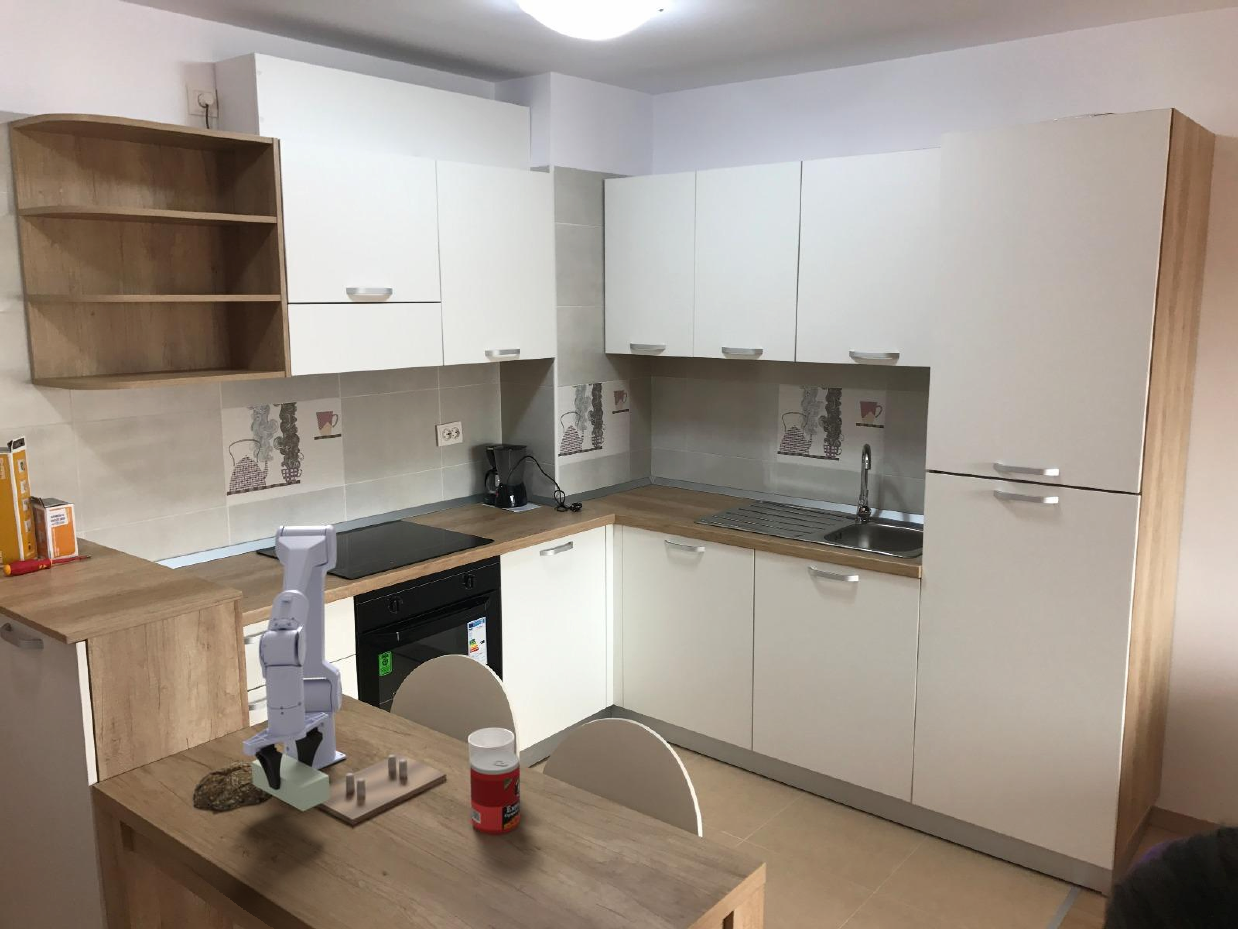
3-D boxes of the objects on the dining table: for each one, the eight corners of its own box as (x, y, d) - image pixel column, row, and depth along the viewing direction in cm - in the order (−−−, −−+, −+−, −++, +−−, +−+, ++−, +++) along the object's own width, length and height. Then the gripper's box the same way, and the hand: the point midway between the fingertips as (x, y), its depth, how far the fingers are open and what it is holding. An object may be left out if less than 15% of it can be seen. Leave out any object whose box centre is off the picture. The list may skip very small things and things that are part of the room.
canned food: (512, 838, 156) (511, 773, 154) (464, 832, 158) (462, 768, 156) (526, 813, 163) (525, 751, 162) (480, 808, 165) (479, 747, 163)
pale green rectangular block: (253, 784, 163) (251, 762, 162) (279, 773, 167) (278, 751, 166) (302, 811, 154) (301, 787, 154) (329, 799, 158) (328, 775, 158)
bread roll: (263, 770, 179) (261, 744, 178) (280, 799, 168) (278, 772, 168) (187, 789, 172) (185, 762, 171) (200, 820, 162) (198, 791, 161)
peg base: (305, 800, 168) (304, 778, 167) (398, 758, 183) (398, 738, 182) (353, 825, 160) (352, 802, 159) (446, 779, 175) (445, 758, 174)
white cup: (492, 807, 165) (491, 751, 164) (459, 793, 170) (458, 739, 168) (524, 789, 172) (523, 735, 170) (491, 776, 176) (490, 723, 175)
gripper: (258, 723, 150) (263, 806, 152) (338, 694, 161) (342, 772, 164) (233, 711, 154) (238, 792, 157) (313, 684, 166) (316, 759, 168)
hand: (289, 781), depth 160 cm, fingers closed on pale green rectangular block, 5 cm apart
